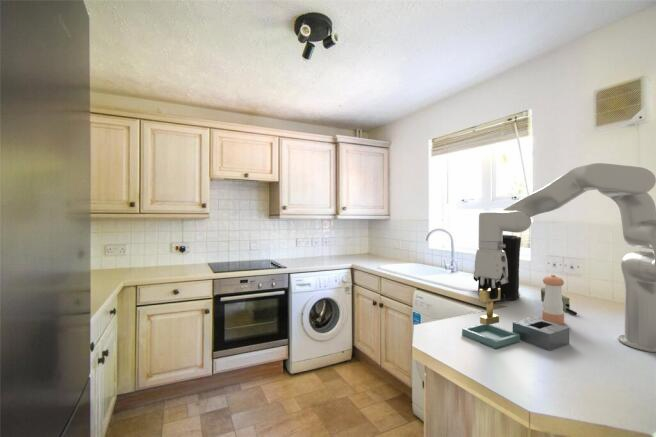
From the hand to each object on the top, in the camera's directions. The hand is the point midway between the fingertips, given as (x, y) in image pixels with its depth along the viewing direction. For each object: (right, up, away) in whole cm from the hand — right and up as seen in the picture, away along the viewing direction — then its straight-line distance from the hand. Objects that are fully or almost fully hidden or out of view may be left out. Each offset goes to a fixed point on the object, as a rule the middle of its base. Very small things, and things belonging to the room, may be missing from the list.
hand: (489, 297), depth 106 cm
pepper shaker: (+36, -15, +18) cm, 43 cm away
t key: (0, -9, 0) cm, 9 cm away
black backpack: (+33, -15, +59) cm, 69 cm away
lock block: (+17, -15, -2) cm, 22 cm away
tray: (0, -15, 0) cm, 15 cm away
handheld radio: (+52, -15, +36) cm, 66 cm away
